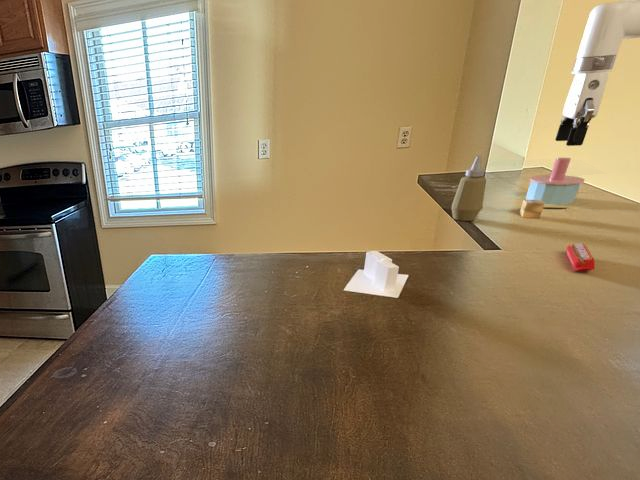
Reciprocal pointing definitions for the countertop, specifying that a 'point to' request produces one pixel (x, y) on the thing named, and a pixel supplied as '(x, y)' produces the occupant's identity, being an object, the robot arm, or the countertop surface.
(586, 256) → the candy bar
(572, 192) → the bowl
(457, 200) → the squeeze bottle
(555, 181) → the pink peg stand
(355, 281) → the white building model
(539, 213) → the block
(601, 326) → the countertop surface
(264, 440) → the countertop surface
